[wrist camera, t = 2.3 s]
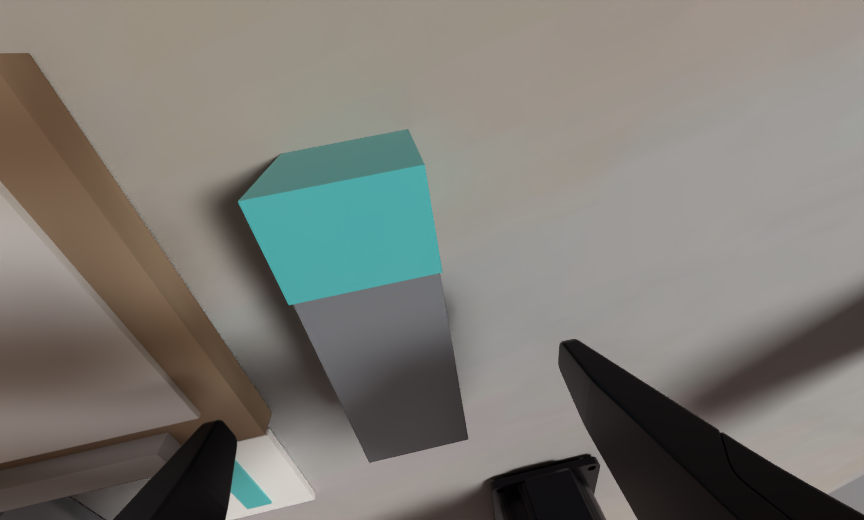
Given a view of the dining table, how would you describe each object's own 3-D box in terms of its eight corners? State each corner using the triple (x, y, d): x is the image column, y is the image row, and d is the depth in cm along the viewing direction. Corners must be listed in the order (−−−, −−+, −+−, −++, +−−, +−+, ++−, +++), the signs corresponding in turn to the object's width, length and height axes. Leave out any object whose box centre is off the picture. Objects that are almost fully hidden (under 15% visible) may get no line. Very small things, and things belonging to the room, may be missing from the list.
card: (315, 493, 18) (314, 501, 18) (220, 516, 18) (217, 525, 17) (269, 428, 15) (267, 437, 14) (152, 455, 15) (147, 465, 14)
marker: (453, 377, 15) (473, 457, 12) (374, 395, 15) (375, 481, 12) (407, 129, 9) (424, 164, 6) (280, 153, 9) (237, 201, 6)
